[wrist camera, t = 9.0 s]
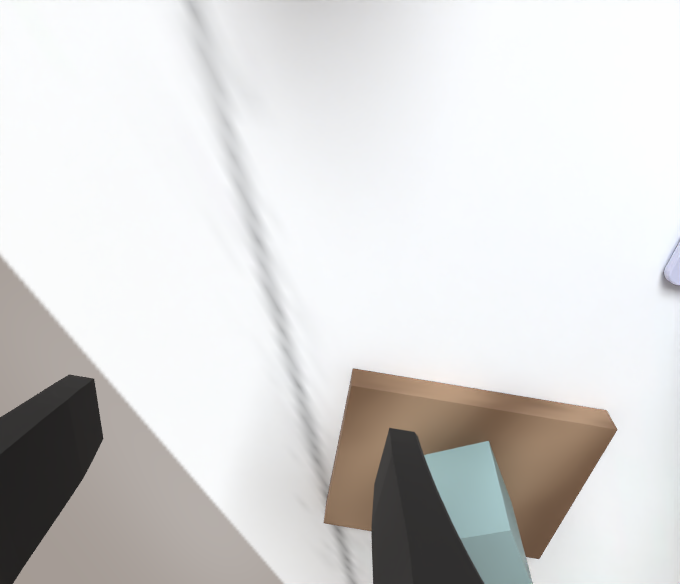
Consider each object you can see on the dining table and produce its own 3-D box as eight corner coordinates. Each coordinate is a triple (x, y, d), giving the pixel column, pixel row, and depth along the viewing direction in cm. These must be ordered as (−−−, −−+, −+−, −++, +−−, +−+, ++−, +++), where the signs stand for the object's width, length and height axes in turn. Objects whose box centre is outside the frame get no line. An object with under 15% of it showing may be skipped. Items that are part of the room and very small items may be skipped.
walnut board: (606, 410, 22) (617, 429, 21) (533, 538, 27) (539, 558, 26) (353, 368, 22) (351, 385, 21) (326, 504, 27) (323, 523, 26)
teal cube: (488, 440, 22) (510, 530, 18) (511, 501, 24) (535, 594, 20) (396, 461, 23) (399, 549, 19) (425, 517, 25) (432, 608, 21)
